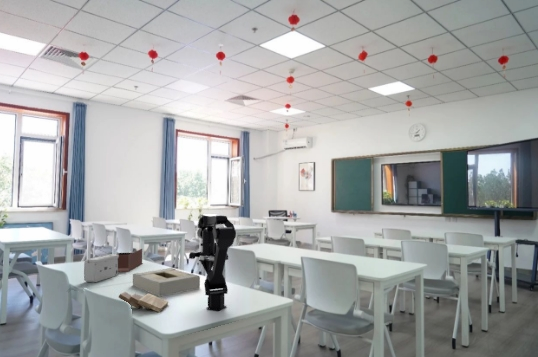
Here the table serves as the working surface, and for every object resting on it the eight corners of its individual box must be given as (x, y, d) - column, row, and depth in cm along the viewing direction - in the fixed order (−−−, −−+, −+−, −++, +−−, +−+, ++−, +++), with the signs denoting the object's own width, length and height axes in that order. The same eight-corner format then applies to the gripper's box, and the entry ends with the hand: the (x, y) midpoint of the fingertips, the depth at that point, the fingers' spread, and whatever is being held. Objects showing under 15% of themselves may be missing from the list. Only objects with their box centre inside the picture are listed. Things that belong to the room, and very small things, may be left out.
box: (200, 289, 193) (170, 279, 216) (200, 274, 193) (170, 266, 216) (160, 298, 177) (132, 286, 200) (160, 282, 177) (132, 272, 200)
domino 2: (155, 303, 161) (135, 293, 162) (150, 306, 156) (130, 296, 157) (153, 306, 161) (133, 296, 162) (149, 309, 156) (128, 299, 157)
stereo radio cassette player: (108, 275, 228) (108, 242, 229) (119, 275, 226) (120, 243, 227) (83, 282, 208) (83, 247, 209) (95, 283, 206) (95, 247, 207)
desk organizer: (112, 272, 236) (112, 255, 237) (128, 264, 266) (128, 248, 266) (129, 272, 237) (129, 254, 237) (143, 264, 266) (143, 248, 267)
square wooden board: (168, 301, 163) (148, 293, 164) (161, 308, 153) (139, 299, 154) (167, 304, 163) (147, 296, 164) (159, 312, 153) (137, 303, 154)
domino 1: (144, 303, 161) (125, 291, 163) (139, 305, 156) (120, 293, 158) (142, 306, 161) (123, 295, 162) (137, 308, 156) (118, 297, 157)
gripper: (234, 240, 174) (234, 273, 173) (202, 238, 182) (202, 269, 181) (221, 242, 164) (221, 277, 163) (188, 240, 172) (188, 274, 171)
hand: (208, 274), depth 170 cm, fingers closed
